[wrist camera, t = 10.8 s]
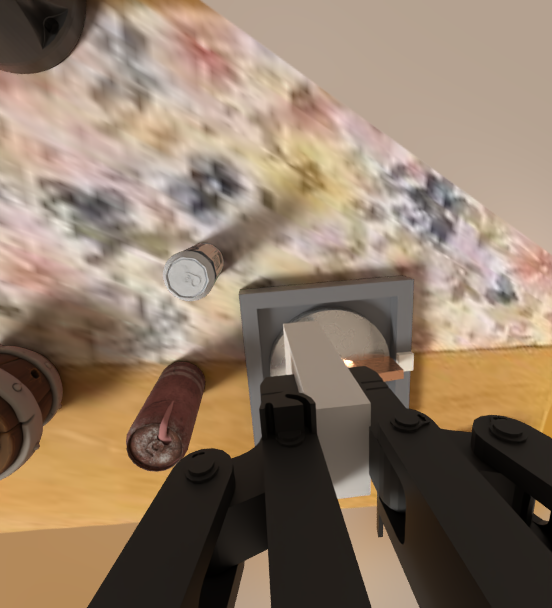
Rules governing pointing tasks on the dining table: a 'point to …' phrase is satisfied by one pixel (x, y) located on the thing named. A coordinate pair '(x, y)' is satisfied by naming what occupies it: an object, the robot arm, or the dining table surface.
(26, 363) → the flowerpot
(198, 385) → the can
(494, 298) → the dining table surface
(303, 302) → the dial plate
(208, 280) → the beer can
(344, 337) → the dial
